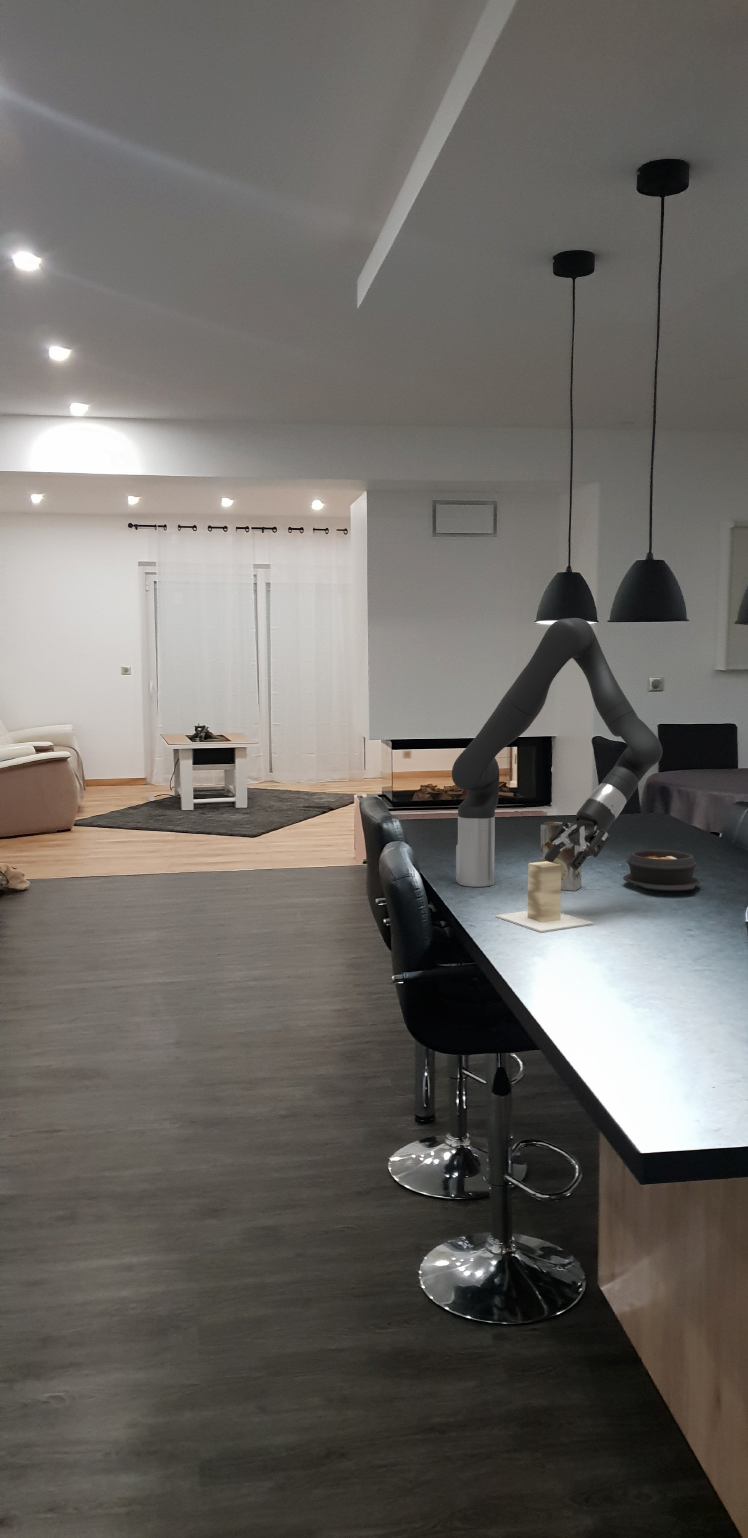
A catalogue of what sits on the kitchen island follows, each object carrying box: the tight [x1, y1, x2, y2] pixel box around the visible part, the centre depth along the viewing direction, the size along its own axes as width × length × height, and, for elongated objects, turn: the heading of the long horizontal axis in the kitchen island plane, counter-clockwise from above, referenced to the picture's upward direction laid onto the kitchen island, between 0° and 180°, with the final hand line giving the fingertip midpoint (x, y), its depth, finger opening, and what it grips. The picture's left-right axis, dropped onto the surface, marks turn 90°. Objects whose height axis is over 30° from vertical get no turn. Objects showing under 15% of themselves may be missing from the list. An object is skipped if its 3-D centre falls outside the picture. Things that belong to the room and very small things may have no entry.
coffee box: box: [540, 820, 583, 892], centre depth 264 cm, size 9×6×16 cm
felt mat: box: [495, 910, 594, 934], centre depth 230 cm, size 16×14×1 cm
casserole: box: [622, 849, 701, 892], centre depth 265 cm, size 25×19×8 cm
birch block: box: [527, 861, 562, 923], centre depth 229 cm, size 5×5×12 cm
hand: (559, 864), depth 231 cm, fingers open, 8 cm apart
